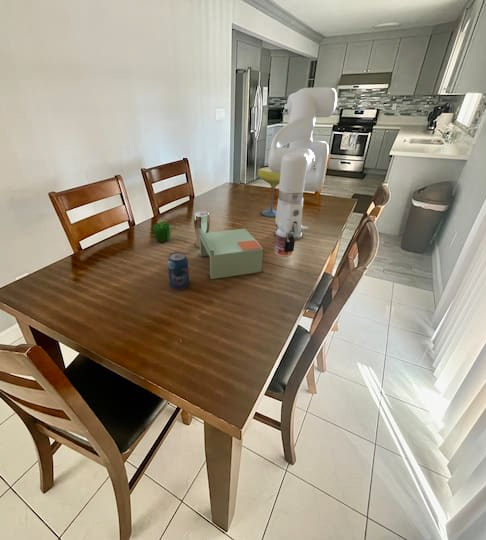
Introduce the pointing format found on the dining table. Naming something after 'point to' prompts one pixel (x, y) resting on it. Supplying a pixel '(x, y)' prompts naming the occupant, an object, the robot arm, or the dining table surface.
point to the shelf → (231, 252)
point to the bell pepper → (162, 231)
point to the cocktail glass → (273, 180)
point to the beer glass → (201, 224)
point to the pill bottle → (281, 242)
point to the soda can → (178, 270)
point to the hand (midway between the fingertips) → (284, 246)
